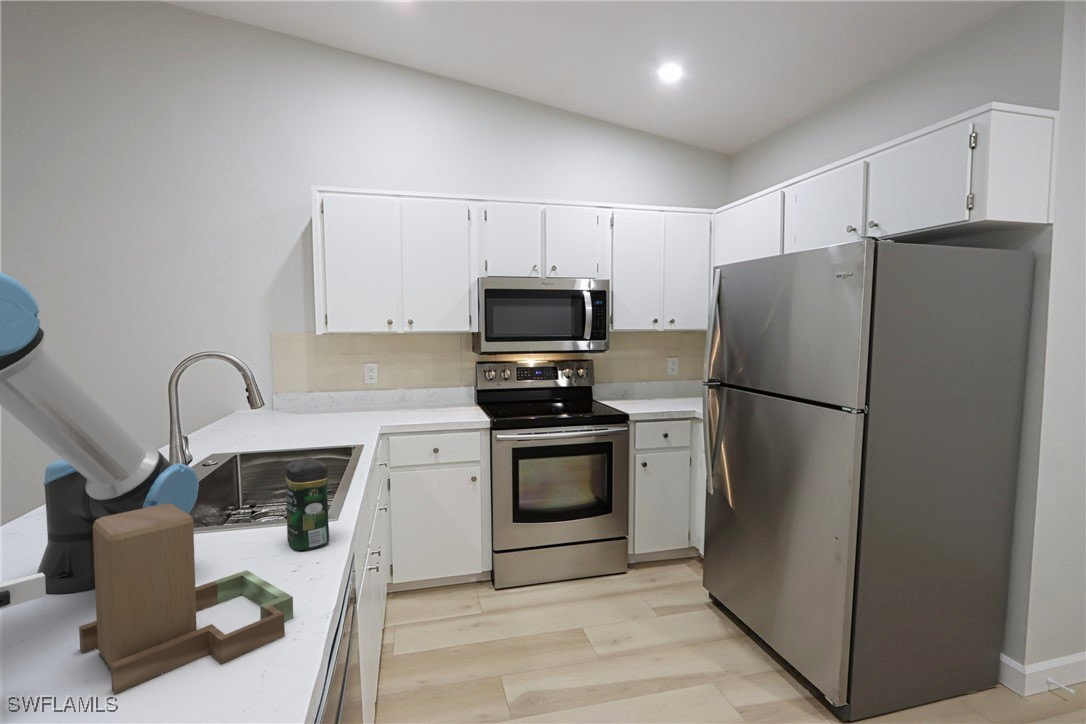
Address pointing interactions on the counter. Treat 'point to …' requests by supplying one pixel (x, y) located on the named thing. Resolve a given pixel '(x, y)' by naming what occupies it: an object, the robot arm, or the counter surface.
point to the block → (143, 579)
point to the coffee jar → (307, 504)
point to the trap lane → (204, 632)
